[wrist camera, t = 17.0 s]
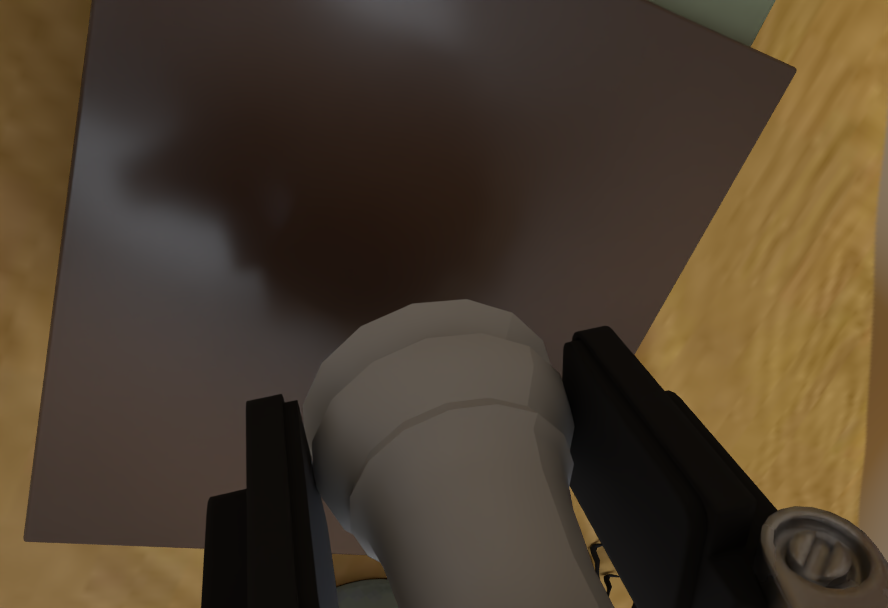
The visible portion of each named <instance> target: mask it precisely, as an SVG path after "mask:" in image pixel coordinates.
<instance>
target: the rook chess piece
mask: <svg viewBox="0 0 888 608" xmlns="http://www.w3.org/2000/svg"><path fill="white" fill-rule="evenodd" d="M303 419H304V429H305V433H306V437H307V441H308V445H309V449H310V454H311V456H312V458H313V473H314V478H315V483H316V488H317V489H318V491H319V493H320V495H321V497H322V498H323V500H324V502H325V503H326V504H327V506H328V507H329V509H330V510H331V512H332V513H333V514H334V516H335V517H336V519H337V520H338V522H339V523H340V524H341V526H342V527H343V529H344V530H345V531H347V532H349V533H351V534H353V535H354V536H355V538H356V539H357V541H358V542H359V544H360V545H361V546H362V548H363V549H364V551H365V552H366V554H367V555H368V556H369V557H371V558H373V559H375V560H377V561H379V562H380V563H381V565H382V566H383V568H384V571H385V573H386V576H387V579H388V581H389V584H390V587H391V589H392V592H393V594H394V597H395V600H396V602H397V605H398V607H399V608H614V606H613V604H612V602H611V600H610V598H609V597H608V595H607V593H606V591H605V589H604V587H603V585H602V583H601V581H600V579H599V577H598V575H597V573H596V572H595V570H594V567H593V564H592V561H591V558H590V556H589V553H588V550H587V547H586V544H585V541H584V539H583V536H582V533H581V530H580V527H579V524H578V522H577V519H576V516H575V513H574V510H573V506H572V501H571V495H570V490H569V485H570V480H571V475H572V471H573V466H574V462H573V460H572V457H571V454H570V447H571V442H572V437H573V432H574V427H575V426H574V421H573V416H572V412H571V408H570V404H569V401H568V398H567V395H566V392H565V389H564V385H563V382H562V379H561V376H560V373H559V372H557V371H556V370H555V369H554V368H553V367H552V366H551V364H550V360H549V357H548V354H547V351H546V348H545V345H544V342H543V340H542V339H541V338H540V337H538V336H537V335H536V334H535V333H534V332H533V331H532V330H531V329H530V328H529V327H528V326H526V325H525V324H524V323H523V322H522V321H521V320H520V319H519V318H518V317H517V316H516V315H515V314H513V313H511V312H508V311H505V310H501V309H498V308H495V307H491V306H488V305H485V304H481V303H478V302H475V301H471V300H468V299H462V300H450V301H438V302H426V303H414V304H410V305H408V306H406V307H404V308H401V309H399V310H397V311H395V312H392V313H390V314H388V315H386V316H383V317H381V318H379V319H376V320H374V321H372V322H370V323H367V324H365V325H363V326H361V327H360V328H358V329H357V330H356V331H355V332H354V333H353V334H352V335H351V336H350V337H349V338H348V339H347V340H346V341H345V342H344V343H343V344H341V345H340V346H339V347H338V348H337V349H336V350H335V351H334V352H333V353H332V354H331V355H330V356H329V357H328V358H327V359H326V360H324V361H323V362H322V363H321V366H320V368H319V370H318V372H317V375H316V377H315V379H314V381H313V384H312V386H311V388H310V390H309V393H308V395H307V397H306V399H305V402H304V404H303Z"/></svg>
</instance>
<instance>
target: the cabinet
mask: <svg viewBox="0 0 888 608" xmlns="http://www.w3.org/2000/svg"><path fill="white" fill-rule="evenodd" d="M795 73H796V68H795V67H793V66H791V65H789V64H786V63H784V62H782V61H780V60H778V59H775V58H773V57H771V56H769V55H767V54H764V53H762V52H760V51H758V50H756V49H753V48H751V47H749V46H747V45H745V44H742V43H740V42H738V41H736V40H734V39H731V38H729V37H727V36H725V35H723V34H720V33H718V32H716V31H714V30H712V29H709V28H707V27H705V26H703V25H701V24H698V23H696V22H694V21H692V20H690V19H687V18H685V17H683V16H681V15H679V14H676V13H674V12H672V11H670V10H668V9H665V8H663V7H661V6H659V5H657V4H654V3H652V2H650V1H648V0H92V3H91V11H90V19H89V27H88V35H87V42H86V50H85V58H84V66H83V74H82V82H81V90H80V98H79V105H78V113H77V121H76V129H75V137H74V145H73V153H72V160H71V168H70V176H69V184H68V192H67V200H66V208H65V215H64V223H63V231H62V239H61V247H60V255H59V263H58V270H57V278H56V286H55V294H54V302H53V310H52V318H51V326H50V333H49V341H48V349H47V357H46V365H45V373H44V381H43V388H42V396H41V404H40V412H39V420H38V428H37V436H36V443H35V451H34V459H33V467H32V475H31V483H30V491H29V498H28V506H27V514H26V522H25V530H24V541H26V542H47V543H72V544H98V545H123V546H149V547H174V548H200V549H204V548H205V531H206V513H207V504H208V500H209V498H210V497H213V496H217V495H221V494H226V493H230V492H234V491H238V490H243V489H246V402H247V401H250V400H254V399H259V398H264V397H269V396H273V395H278V394H282V395H283V398H284V401H285V402H290V401H294V400H297V401H298V404H299V408H300V412H301V416H302V420H303V425H304V419H303V404H304V402H305V399H306V397H307V395H308V393H309V390H310V388H311V386H312V384H313V381H314V379H315V377H316V375H317V372H318V370H319V368H320V366H321V363H322V362H323V361H324V360H326V359H327V358H328V357H329V356H330V355H331V354H332V353H333V352H334V351H335V350H336V349H337V348H338V347H339V346H340V345H341V344H343V343H344V342H345V341H346V340H347V339H348V338H349V337H350V336H351V335H352V334H353V333H354V332H355V331H356V330H357V329H358V328H360V327H361V326H363V325H365V324H367V323H370V322H372V321H374V320H376V319H379V318H381V317H383V316H386V315H388V314H390V313H392V312H395V311H397V310H399V309H401V308H404V307H406V306H408V305H410V304H414V303H426V302H438V301H450V300H462V299H468V300H471V301H475V302H478V303H481V304H485V305H488V306H491V307H495V308H498V309H501V310H505V311H508V312H511V313H513V314H515V315H516V316H517V317H518V318H519V319H520V320H521V321H522V322H523V323H524V324H525V325H526V326H528V327H529V328H530V329H531V330H532V331H533V332H534V333H535V334H536V335H537V336H538V337H540V338H541V339H542V340H543V342H544V345H545V348H546V351H547V354H548V357H549V360H550V364H551V366H552V367H553V368H554V369H555V370H556V371H557V372H559V373H560V376H561V379H562V370H563V348H564V344H565V343H567V342H571V341H572V337H573V334H574V333H575V332H577V331H582V330H587V329H591V328H596V327H601V326H609V327H610V328H611V329H613V331H614V332H615V333H616V334H617V335H618V337H619V338H620V339H621V340H622V341H623V342H624V344H625V345H626V346H627V347H628V348H629V350H630V351H631V352H632V353H633V354H635V353H636V351H637V349H638V347H639V346H640V344H641V342H642V340H643V339H644V337H645V335H646V334H647V332H648V330H649V328H650V327H651V325H652V323H653V321H654V320H655V318H656V316H657V314H658V313H659V311H660V309H661V307H662V306H663V304H664V302H665V300H666V299H667V297H668V295H669V293H670V292H671V290H672V288H673V286H674V285H675V283H676V281H677V279H678V278H679V276H680V274H681V272H682V271H683V269H684V267H685V265H686V264H687V262H688V260H689V258H690V257H691V255H692V253H693V251H694V250H695V248H696V246H697V244H698V243H699V241H700V239H701V237H702V236H703V234H704V232H705V230H706V229H707V227H708V225H709V223H710V222H711V220H712V218H713V216H714V215H715V213H716V211H717V209H718V208H719V206H720V204H721V202H722V201H723V199H724V197H725V195H726V194H727V192H728V190H729V188H730V187H731V185H732V183H733V181H734V180H735V178H736V176H737V174H738V173H739V171H740V169H741V168H742V166H743V164H744V162H745V161H746V159H747V157H748V155H749V154H750V152H751V150H752V148H753V147H754V145H755V143H756V141H757V140H758V138H759V136H760V134H761V133H762V131H763V129H764V127H765V126H766V124H767V122H768V120H769V119H770V117H771V115H772V113H773V112H774V110H775V108H776V106H777V105H778V103H779V101H780V99H781V98H782V96H783V94H784V92H785V91H786V89H787V87H788V85H789V84H790V82H791V80H792V78H793V77H794V75H795ZM311 458H312V456H311ZM312 462H313V458H312ZM321 499H322V503H323V507H324V512H325V516H326V521H327V526H328V532H329V539H330V546H331V553H332V554H353V555H367V554H366V552H365V551H364V549H363V548H362V546H361V545H360V544H359V542H358V541H357V539H356V538H355V536H354V535H353V534H351V533H349V532H347V531H345V530H344V529H343V527H342V526H341V524H340V523H339V522H338V520H337V519H336V517H335V516H334V514H333V513H332V512H331V510H330V509H329V507H328V506H327V504H326V503H325V502H324V500H323V498H322V497H321Z"/></svg>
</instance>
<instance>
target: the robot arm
mask: <svg viewBox="0 0 888 608" xmlns="http://www.w3.org/2000/svg"><path fill="white" fill-rule="evenodd" d="M562 382H563V385H564V389H565V392H566V395H567V398H568V401H569V404H570V408H571V412H572V416H573V421H574V426H575V427H574V432H573V437H572V442H571V447H570V454H571V457H572V460H573V462H574V466H573V471H572V475H571V480H570V485H569V486H570V487H571V489H572V491H573V493H574V495H575V496H576V498H577V500H578V502H579V504H580V506H581V507H582V509H583V511H584V513H585V515H586V516H587V518H588V520H589V522H590V524H591V525H592V527H593V529H594V531H595V533H596V535H597V536H598V538H599V540H600V542H601V544H602V545H603V547H604V549H605V551H606V553H607V555H608V556H609V558H610V560H611V562H612V564H613V565H614V567H615V569H616V571H617V573H618V575H619V576H620V578H621V580H622V582H623V584H624V585H625V587H626V589H627V591H628V593H629V595H630V596H631V598H632V600H633V602H634V604H635V605H636V607H637V608H888V562H887V561H886V559H885V558H884V557H883V555H882V553H881V552H880V551H879V549H878V548H877V546H876V545H875V544H874V543H873V542H872V541H871V539H870V538H869V537H868V536H867V535H866V534H865V533H864V532H863V531H862V530H860V529H859V528H858V527H856V526H855V525H854V524H852V523H851V522H850V521H848V520H846V519H844V518H842V517H840V516H838V515H836V514H833V513H831V512H828V511H824V510H821V509H817V508H813V507H798V506H794V507H789V508H785V509H780V510H777V509H776V508H775V507H774V506H773V505H772V503H771V502H770V501H769V500H768V499H767V498H766V496H765V495H764V494H763V493H762V492H761V491H760V489H759V488H758V487H757V486H756V485H755V484H754V483H753V481H752V480H751V479H750V478H749V477H748V476H747V474H746V473H745V472H744V471H743V470H742V469H741V467H740V466H739V465H738V464H737V463H736V462H735V461H734V459H733V458H732V457H731V456H730V455H729V454H728V452H727V451H726V450H725V449H724V448H723V447H722V445H721V444H720V443H719V442H718V441H717V440H716V439H715V437H714V436H713V435H712V434H711V433H710V432H709V430H708V429H707V428H706V427H705V426H704V425H703V424H702V422H701V421H700V420H699V419H698V418H697V417H696V415H695V414H694V413H693V412H692V411H691V410H690V408H689V407H688V406H687V405H686V404H685V403H684V402H683V400H682V399H681V398H680V397H679V396H677V395H676V394H675V393H674V392H671V391H669V390H668V391H664V390H663V389H662V387H661V386H660V385H659V384H658V383H657V382H656V380H655V379H654V378H653V377H652V376H651V374H650V373H649V372H648V371H647V370H646V368H645V367H644V366H643V365H642V364H641V363H640V361H639V360H638V359H637V358H636V357H635V355H634V354H633V353H632V352H631V351H630V350H629V348H628V347H627V346H626V345H625V344H624V342H623V341H622V340H621V339H620V338H619V337H618V335H617V334H616V333H615V332H614V331H613V329H611V328H610V327H609V326H601V327H596V328H591V329H587V330H582V331H577V332H575V333H574V334H573V337H572V341H571V342H567V343H565V344H564V348H563V370H562ZM201 608H339V605H338V597H337V590H336V583H335V575H334V568H333V561H332V553H331V546H330V539H329V532H328V526H327V521H326V516H325V512H324V507H323V503H322V499H321V495H320V493H319V491H318V489H317V488H316V483H315V478H314V473H313V462H312V458H311V454H310V449H309V445H308V441H307V437H306V433H305V429H304V425H303V420H302V416H301V412H300V408H299V404H298V401H297V400H294V401H290V402H285V401H284V398H283V395H282V394H278V395H273V396H269V397H264V398H259V399H254V400H250V401H247V402H246V489H243V490H238V491H234V492H230V493H226V494H221V495H217V496H213V497H210V498H209V500H208V504H207V513H206V531H205V548H204V566H203V584H202V602H201Z"/></svg>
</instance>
